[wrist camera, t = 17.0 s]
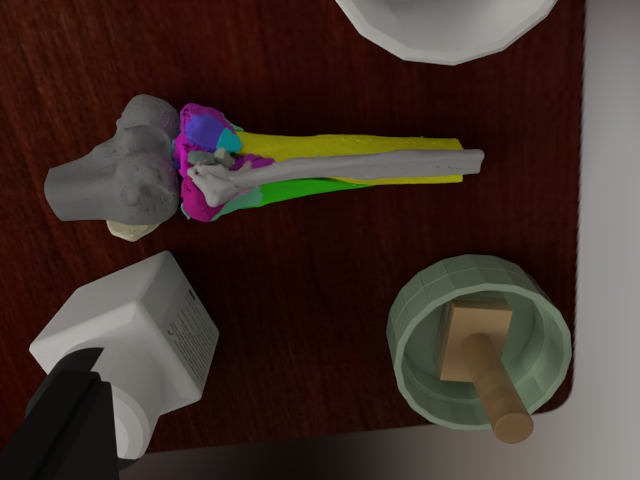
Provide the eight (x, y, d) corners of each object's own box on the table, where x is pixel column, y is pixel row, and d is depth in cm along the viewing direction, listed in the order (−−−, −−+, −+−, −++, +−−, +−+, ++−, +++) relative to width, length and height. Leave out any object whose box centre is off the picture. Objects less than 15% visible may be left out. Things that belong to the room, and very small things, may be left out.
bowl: (397, 245, 39) (408, 277, 34) (559, 256, 39) (592, 290, 35) (377, 380, 43) (384, 425, 39) (523, 389, 44) (547, 435, 39)
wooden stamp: (445, 287, 39) (489, 382, 30) (501, 291, 40) (562, 387, 30) (432, 358, 42) (468, 467, 32) (484, 361, 42) (536, 471, 32)
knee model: (430, 160, 41) (83, 194, 39) (450, 60, 35) (41, 92, 33) (472, 251, 35) (63, 299, 32) (504, 149, 29) (6, 197, 26)
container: (132, 368, 43) (61, 511, 31) (75, 287, 40) (-27, 409, 28) (222, 333, 41) (184, 467, 30) (169, 247, 39) (104, 356, 27)
